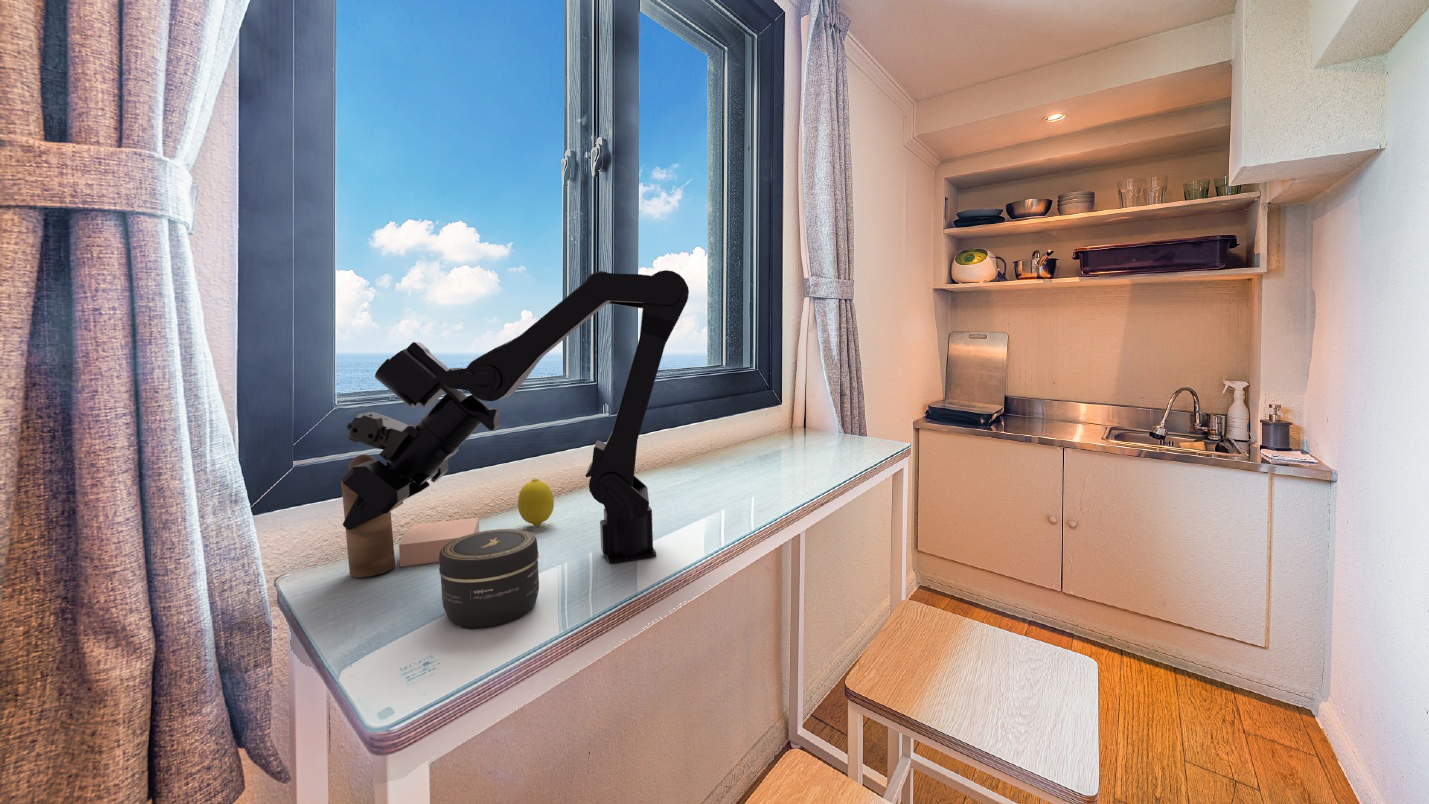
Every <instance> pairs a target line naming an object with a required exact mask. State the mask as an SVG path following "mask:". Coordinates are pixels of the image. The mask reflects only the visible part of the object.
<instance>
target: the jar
mask: <svg viewBox="0 0 1429 804" xmlns="http://www.w3.org/2000/svg"><path fill="white" fill-rule="evenodd" d="M538 547H539V546H538V539H537V537H536V535H535V534H533V533H532V532H530V531H527V530H524V529H515V528H501V529H498V528H497V529H490V530H483V531H479V532H477V533H473V534H469V535H466V536H463V537H460V538H457V539H455V540H453V541H451V542H449V543H447V544H446V545H445V546H444V547H443V548H442V549H441V551H440V554H439V562H438V563H439V565H438V567H439V568H438V571H439V572H438V573H439V576H440V585H441V598H442V599H441V601H442V606H443V607H442V608H443V609H444V612H445V616H446V617H447V619H448V621H449V622H450V623H452V624H453V625H454V626H456V627H458V628H462V629H467V630H485V629H492V628H496V627H501V626H504V625H507V624H510V623H512V622H515V621H517V620H519V619H521V618H522V617H524V616H526V615H527V614H528V613H530V611H531V610H532V609H533V607H534V606H535V604H536V602H537V600H538V596H539V595H538V594H539V590H540V579H539V578H540V577H539V574H540V573H539V558H540V554H539V549H538Z"/></svg>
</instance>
